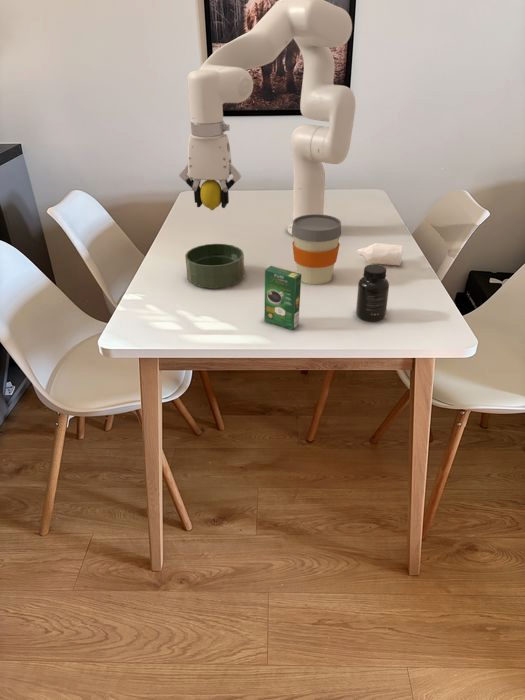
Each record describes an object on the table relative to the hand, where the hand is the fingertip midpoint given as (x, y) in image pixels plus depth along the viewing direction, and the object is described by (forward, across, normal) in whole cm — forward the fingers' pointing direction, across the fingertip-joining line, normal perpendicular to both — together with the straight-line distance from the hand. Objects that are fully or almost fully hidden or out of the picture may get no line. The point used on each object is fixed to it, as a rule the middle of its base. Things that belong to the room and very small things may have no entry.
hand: (212, 205), depth 140 cm
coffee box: (+19, -20, +24) cm, 37 cm away
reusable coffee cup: (+19, -26, -2) cm, 33 cm away
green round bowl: (+19, 0, +2) cm, 19 cm away
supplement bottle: (+19, -40, +18) cm, 48 cm away
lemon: (+1, 0, 0) cm, 1 cm away
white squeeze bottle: (+19, -43, -13) cm, 49 cm away
